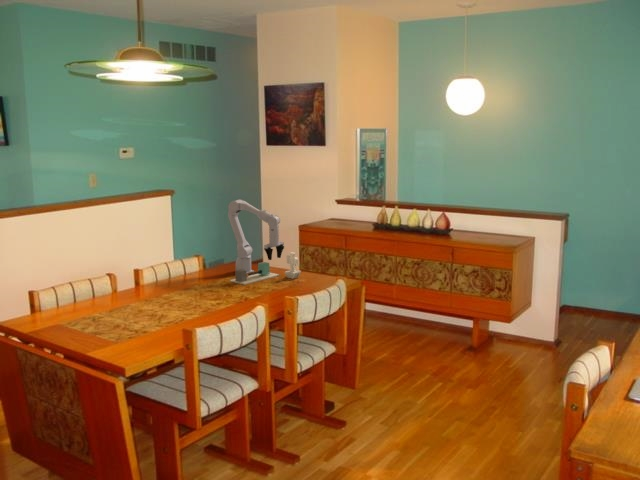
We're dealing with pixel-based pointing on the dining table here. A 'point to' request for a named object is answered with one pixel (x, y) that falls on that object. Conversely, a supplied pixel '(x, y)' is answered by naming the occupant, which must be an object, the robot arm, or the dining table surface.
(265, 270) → the sleeve
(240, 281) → the rod stand
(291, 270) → the figurine
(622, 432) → the dining table surface
